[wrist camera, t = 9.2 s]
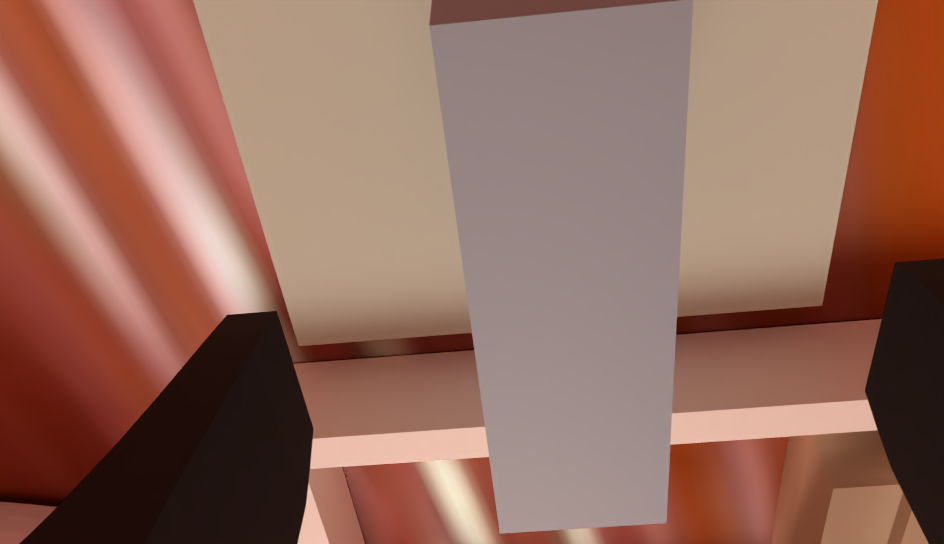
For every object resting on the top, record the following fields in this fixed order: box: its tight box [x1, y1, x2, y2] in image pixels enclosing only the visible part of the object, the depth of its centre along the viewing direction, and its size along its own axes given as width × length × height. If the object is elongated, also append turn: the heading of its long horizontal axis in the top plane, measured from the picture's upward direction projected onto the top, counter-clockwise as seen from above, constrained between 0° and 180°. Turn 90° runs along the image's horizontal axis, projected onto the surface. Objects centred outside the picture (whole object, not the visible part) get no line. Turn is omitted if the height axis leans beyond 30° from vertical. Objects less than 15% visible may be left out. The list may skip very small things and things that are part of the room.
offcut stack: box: [771, 430, 929, 544], centre depth 22 cm, size 5×7×4 cm
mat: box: [193, 0, 878, 346], centre depth 16 cm, size 12×12×1 cm
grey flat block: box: [429, 0, 693, 533], centre depth 13 cm, size 2×8×7 cm, turn 6°
